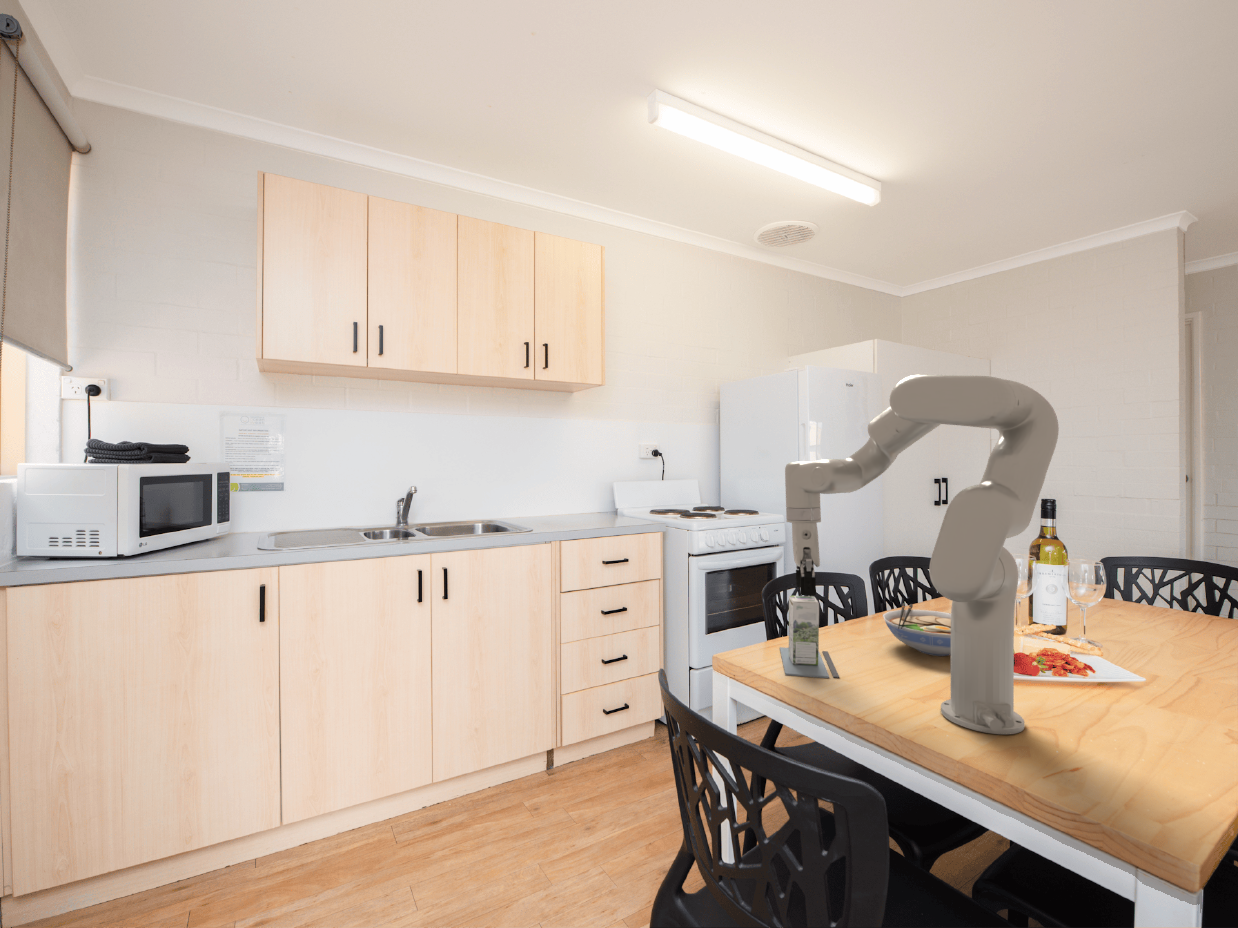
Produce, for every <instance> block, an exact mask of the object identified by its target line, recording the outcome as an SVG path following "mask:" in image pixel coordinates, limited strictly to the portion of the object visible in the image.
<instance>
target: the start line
mask: <svg viewBox="0 0 1238 928" xmlns="http://www.w3.org/2000/svg"><path fill="white" fill-rule="evenodd" d="M822 654H823V656H824V659H825V661H827V662H826V663H827V666H828V669H829V671H830V673H831V676H832V678H833V679H840V674H839V673H838V671H837V668H836V666H835V665H834V662H833V660H832V658H831V655H830V653H829V651H827V650H826V651H824V650H822Z"/></svg>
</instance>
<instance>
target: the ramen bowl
mask: <svg viewBox="0 0 1238 928" xmlns="http://www.w3.org/2000/svg"><path fill="white" fill-rule="evenodd" d="M901 605H902V606H901V609H896V610H890V611H887V612H885V613H883V614H882V617H883V620H884V622H885V624H886V626H887V628H888V629H889V631H890V632H891V634H893V636H894V637H895V638H896V639H897V640H899V641H900V642H902V643H903V644H905V645H906V646H909V647H910V648H913V649H916V651H918V652H920V653H922V654H924V655H929V656H936V657H947V656H951V612H950V613H949V612H943V611H937V610H927V609H913V606H914V605H913V603H910V604H909V606H908V609H906V608H905V607H906V603H905V602H903V603H902V604H901Z"/></svg>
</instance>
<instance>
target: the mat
mask: <svg viewBox="0 0 1238 928" xmlns="http://www.w3.org/2000/svg"><path fill="white" fill-rule="evenodd" d="M779 651H780V656H781V661H782V665H783V666H782V667H783V671H784V675H785V676H791V677H792V676H793V677H805V678H806V677H807V678H820V679H830V675H829V672H828V670H827V668H826V664H825V663H824V660H823V658H822V656H821V653H820V651H819V652H818V665H798V664H793V663H792V661H791V659H790V657H789V647H782V646H779Z"/></svg>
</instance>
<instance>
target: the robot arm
mask: <svg viewBox="0 0 1238 928" xmlns="http://www.w3.org/2000/svg"><path fill="white" fill-rule="evenodd" d="M941 425H948V426H950V425H951V426H961V427H972V428H981V429H984V428H985V429H992V430H993V429H995V430H997V431H998V433H999V434H998V435H999V436H998V439H997V442H996V443H995V445H994V447H993V449H992V450H991V452H990V455H989V456H988V460H987V464H986V467H985V470H984V472H983V476H982V478H981V480H980V482H979V484H974V485H970V486H967V487H965V488H963V489H962V490H960V491H959V492H958V493H957V494H956V495H955V496H954V497H953V499H951V501H950V503H949V504H948V507H947V508H946V511H945V513H944V517H943V520H942V523H941V526H940V529H939V533H938V536H937V539H936V540H935V541H936V542H935V545H934V548H933V550H932V553H931V557H930V561H929V566H928V567H929V568H928V569H929V577H930V582H931V583H932V585H933V588H935V590H936V591H937V592H938V593H939V594H940V595H941V596H943V598H945V599H948V600H949V601H951V610H950V613H951V655H950V699H946V700H944V701H942V703H940V712H941V713H940V714H942V716H944V718H946V720H948V721H950V722H952V723H953V724H956V725H958V726H961V727H962V728H963V727H964V728H966V729H968V730H972V731H976V732H980V733H985V734H991V735H1015V734H1018V733H1021V732H1022V731H1024V729H1025V720H1024V718H1023V717H1022V716H1021V715H1020V714H1019V713H1018V712H1016V711H1014V704H1015V703H1014V691H1015V690H1014V689H1015V688H1014V685H1015V684H1014V683H1015V682H1014V680H1015V679H1014V675H1015V674H1014V669H1015V668H1014V667H1015V666H1014V661H1015V660H1014V659H1015V658H1014V657H1015V656H1014V655H1015V653H1014V651H1015V650H1014V649H1015V647H1014V643H1015V639H1014V637H1015V611H1016V610H1015V608H1016V599H1017V592H1018V586H1019V584H1018V583H1019V570H1018V565H1017V562H1016V559H1015V558H1014V556H1013V555H1012V554H1011V552H1010V551H1009V550H1007V548H1005V547H1004V545H1005V542H1006V539H1009V538H1013V537H1016V536H1018V535H1020V534H1022V533H1023V532H1025V531H1026V529H1027V528H1028V527H1029V526H1030V524H1031V521H1032V518H1033V514H1034V512H1035V509H1036V506H1037V503H1038V499H1039V497H1040V494H1041V491H1042V489H1043V485H1044V482H1045V479H1046V476H1047V472H1048V470H1049V466H1050V464H1051V462H1052V461H1051V460H1052V459H1053V456H1054V453H1055V449H1056V447H1057V442H1058V438H1059V428H1060V427H1059V421H1058V417H1057V414H1056V412H1055V409H1054V408H1053V406H1052V404H1051V403H1050V402H1049V401H1048V399H1046V398H1045V397H1044V396H1043V395H1042V394H1040V393H1039V392H1038V391H1037V390H1035V389H1033V388H1031V387H1030V386H1028V385H1026V384H1023V383H1020V382H1018V381H1014V380H1009V379H1005V378H1000V377H996V376H995V377H994V376H987V375H954V374H953V375H946V374H945V375H942V374H941V375H939V374H913V375H909V376H905V377H904V378H902V379H901V380H900V381H899V382H897V383H896V385H895V386H894V387H893V388H892V390H891V392H890V395H889V407H887V408H886V409H885V410H883V411H882V412H880V413H879V414H878V415H876V416H875V417H873V418H872V420H871V421H869V423H868V424H867V432H868V435H869V438H868V440H867V442H866V443H865V444H864V445H863V446H861V447H860V448H859V449H857V451H855V452H854V453H853V454H851V455H850V456H848V457H847V458H845V459H844V458H840V459H839V458H833V459H831V458H830V459H829V458H827V459H819V460H813V461H792V462H791V461H790V462H788V463H787V464H786V465H785V466H784V480H785V483H784V484H785V514H786V523H791V533H792V535H791V536H792V537H791V539H792V540H791V541H792V553H793V559H794V563H795V564H796V570H795V583H796V584H795V586H796V587H797V588H799V589H800V590H799V591H800V596H813V597H815V596H817V585H816V584H817V583H816V576H815V575H816V572H815V567H816V568H819V567H820V566H821V561H820V560H821V558H820V546H819V530H818V524H817V523H821V522H822V516H821V514H822V513H821V512H822V511H821V510H822V509H821V494H824V495H832V494H847V493H848V494H849V493H853V492H857V491H858V490H861V489H862V488H863V487H864V488H865V486H867V485H868V484H870V483H871V482H873V481H874V480H876V479H877V478H878V477H880V476H881V475H883V474H884V473H885V472H886V471H887V470H888V469H889V468H890V467H891V466H892V464H893V463H894V462H895V460H896V459H897V458H898V456H899V455H900V454H902V453H903V451H904V450H906V449H907V448H909V447H911V446H912V445H913V444H915V443H916V442H918V441H920V439H922V438H923V437H925V436H926V435H928V434H929V433H931V432H932V431H934V429H936V428H938V427H939V426H941Z"/></svg>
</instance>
